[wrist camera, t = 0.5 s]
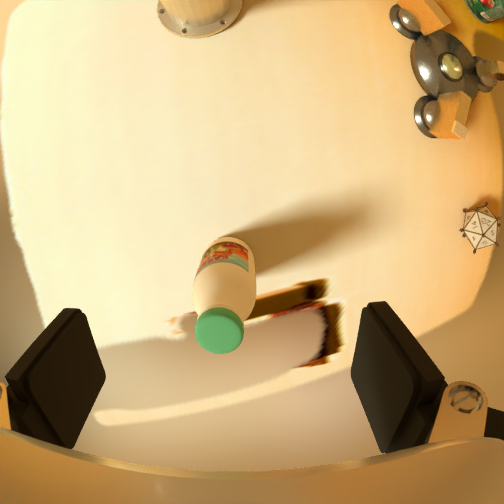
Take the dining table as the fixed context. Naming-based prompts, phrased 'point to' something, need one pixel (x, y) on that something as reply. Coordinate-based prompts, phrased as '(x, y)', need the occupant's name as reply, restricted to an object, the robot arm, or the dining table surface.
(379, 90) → the dining table surface
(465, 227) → the game die
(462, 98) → the knob
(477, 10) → the canned tomato
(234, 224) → the dining table surface
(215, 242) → the milk bottle
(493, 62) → the knob
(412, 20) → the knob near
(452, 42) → the plate
